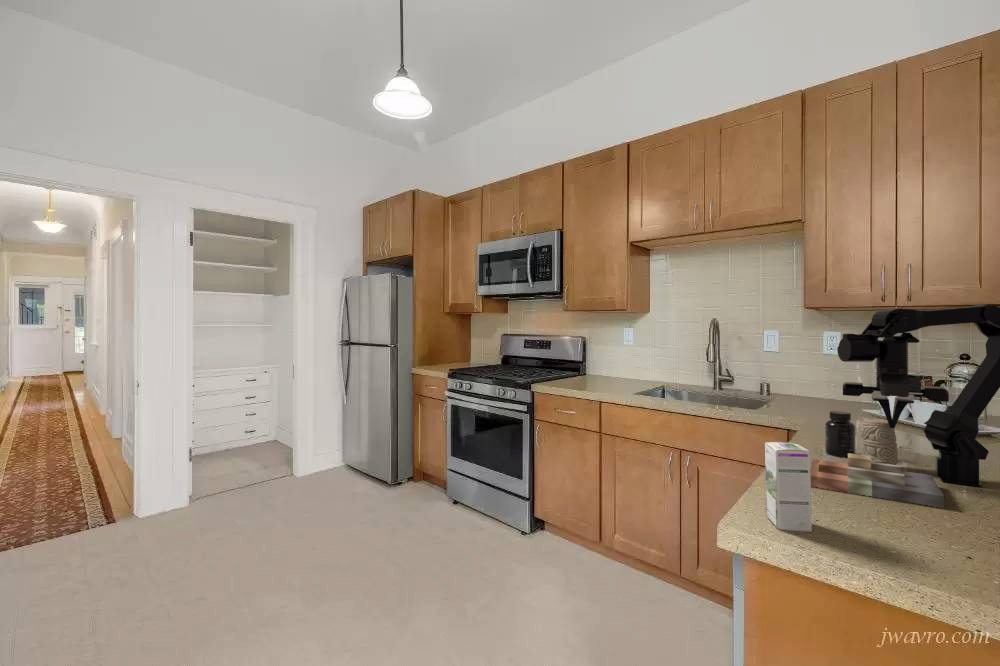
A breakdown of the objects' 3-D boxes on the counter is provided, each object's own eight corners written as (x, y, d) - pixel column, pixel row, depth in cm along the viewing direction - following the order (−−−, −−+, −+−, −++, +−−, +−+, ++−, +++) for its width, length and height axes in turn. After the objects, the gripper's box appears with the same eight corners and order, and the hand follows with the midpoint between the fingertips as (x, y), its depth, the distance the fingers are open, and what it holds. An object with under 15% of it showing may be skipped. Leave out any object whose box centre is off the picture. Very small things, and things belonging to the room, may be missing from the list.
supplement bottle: (819, 451, 131) (819, 410, 131) (841, 451, 132) (841, 409, 132) (838, 458, 124) (838, 414, 124) (862, 457, 125) (861, 414, 125)
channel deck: (931, 486, 102) (931, 466, 102) (944, 508, 89) (944, 486, 89) (812, 468, 115) (812, 451, 115) (809, 486, 103) (809, 466, 103)
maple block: (870, 473, 104) (869, 455, 104) (871, 477, 101) (870, 459, 101) (847, 470, 106) (847, 453, 106) (848, 474, 103) (848, 457, 103)
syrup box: (813, 532, 80) (812, 450, 80) (776, 530, 81) (775, 448, 81) (798, 519, 85) (798, 442, 85) (764, 517, 87) (763, 441, 86)
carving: (866, 461, 122) (865, 416, 122) (902, 468, 115) (902, 421, 115) (856, 465, 118) (855, 419, 118) (892, 472, 112) (892, 424, 112)
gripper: (842, 362, 107) (842, 429, 107) (953, 365, 95) (953, 440, 96) (842, 359, 116) (842, 421, 116) (944, 362, 104) (944, 430, 104)
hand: (892, 427), depth 108 cm, fingers closed
